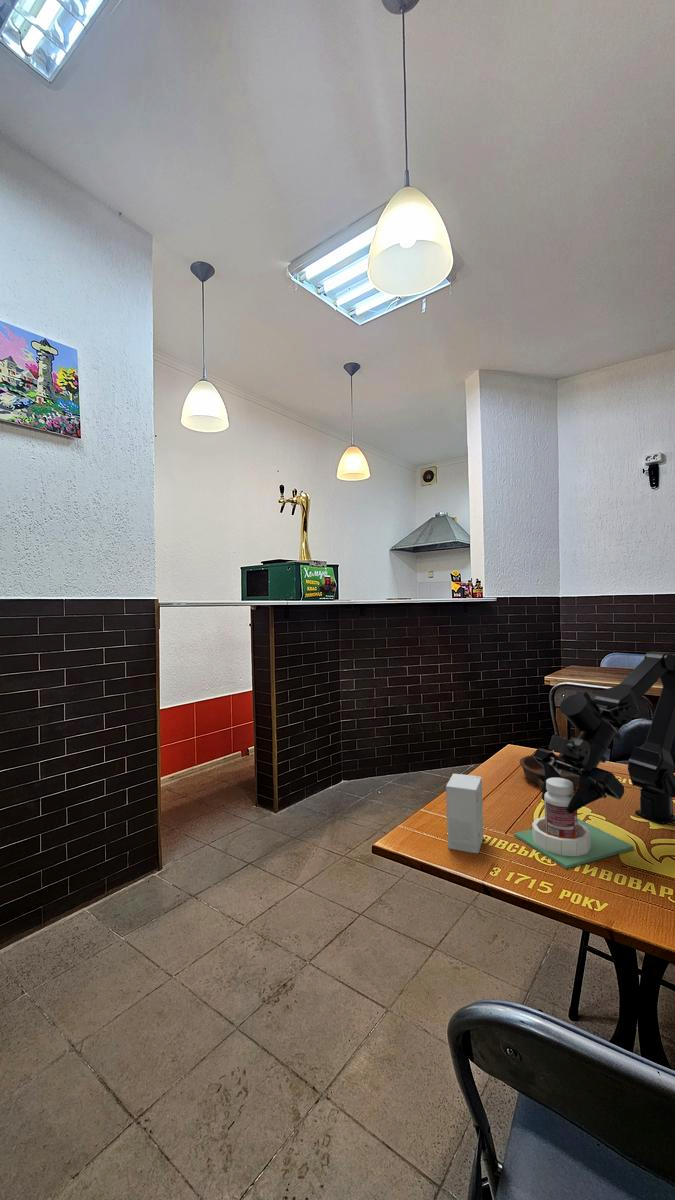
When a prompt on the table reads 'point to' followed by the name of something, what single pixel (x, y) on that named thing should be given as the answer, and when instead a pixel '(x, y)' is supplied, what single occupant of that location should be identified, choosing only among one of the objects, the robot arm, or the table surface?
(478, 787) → the small box
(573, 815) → the pill bottle
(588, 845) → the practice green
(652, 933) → the table surface
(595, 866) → the table surface
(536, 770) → the dish
